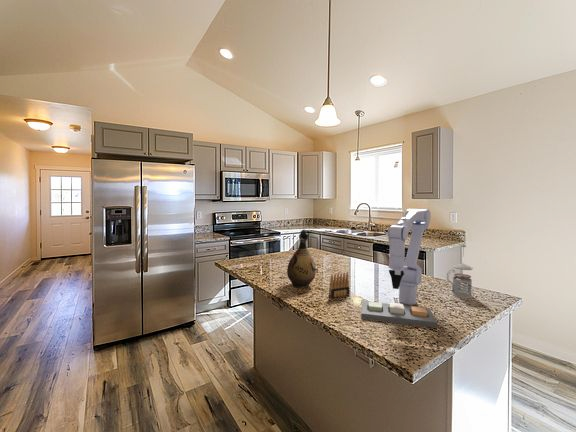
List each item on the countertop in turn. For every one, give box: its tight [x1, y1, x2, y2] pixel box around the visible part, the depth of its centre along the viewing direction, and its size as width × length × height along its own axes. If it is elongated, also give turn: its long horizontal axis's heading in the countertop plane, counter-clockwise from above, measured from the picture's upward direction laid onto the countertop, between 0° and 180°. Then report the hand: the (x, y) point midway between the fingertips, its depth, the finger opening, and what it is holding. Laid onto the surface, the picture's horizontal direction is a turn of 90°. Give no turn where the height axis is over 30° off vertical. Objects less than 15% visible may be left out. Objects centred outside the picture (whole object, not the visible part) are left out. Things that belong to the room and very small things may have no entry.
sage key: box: [369, 301, 383, 312], centre depth 112 cm, size 5×5×3 cm
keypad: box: [360, 300, 438, 329], centre depth 110 cm, size 14×26×3 cm, turn 73°
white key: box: [388, 302, 404, 314], centre depth 110 cm, size 5×5×3 cm
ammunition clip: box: [328, 272, 350, 299], centre depth 132 cm, size 11×2×12 cm, turn 116°
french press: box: [446, 243, 474, 299], centre depth 138 cm, size 10×12×25 cm
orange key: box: [410, 305, 427, 317], centre depth 108 cm, size 5×5×3 cm
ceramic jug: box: [286, 229, 317, 289], centre depth 151 cm, size 17×15×30 cm
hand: (395, 288), depth 114 cm, fingers closed
